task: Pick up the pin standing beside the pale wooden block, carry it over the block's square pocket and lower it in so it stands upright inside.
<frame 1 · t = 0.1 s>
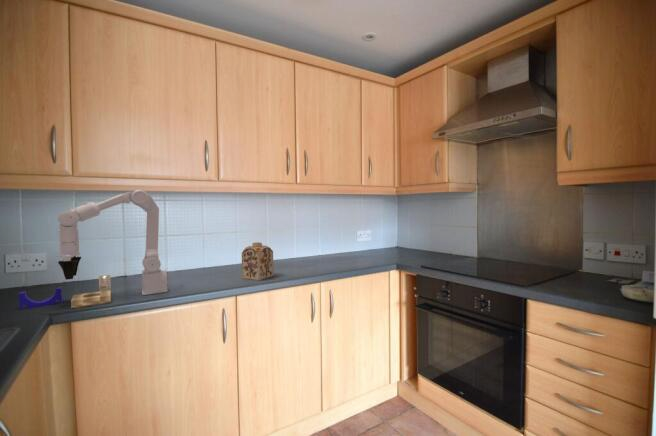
hand: (71, 277, 127), 10 cm above the worktop, tool pointing down, fingers open, 7 cm apart
pin: (105, 294, 139), on the worktop
blue curved cradle: (42, 305, 125), on the worktop
decorative jar: (258, 278, 168), on the worktop
pocket block: (92, 302, 127), on the worktop
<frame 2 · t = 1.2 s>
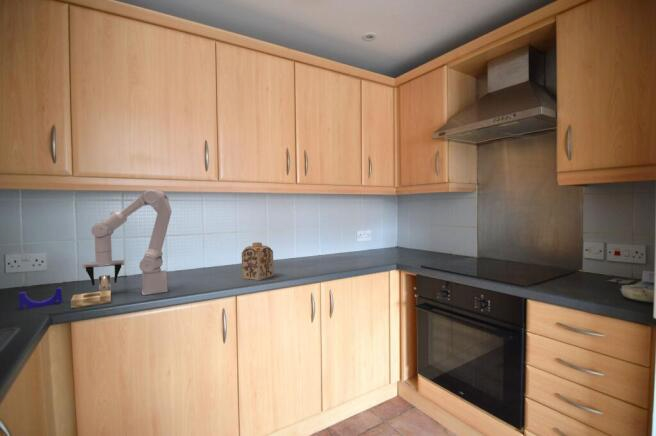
hand: (104, 283, 139), 5 cm above the worktop, tool pointing down, fingers open, 7 cm apart
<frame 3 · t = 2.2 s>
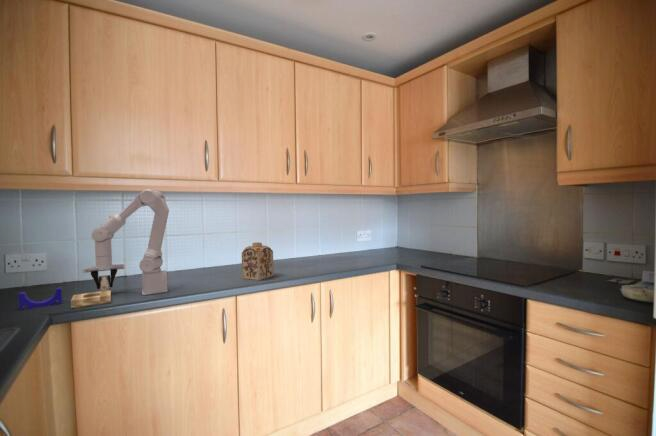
hand: (104, 287, 139), 3 cm above the worktop, tool pointing down, fingers closed on pin, 4 cm apart
pin: (105, 294, 139), on the worktop, touching gripper
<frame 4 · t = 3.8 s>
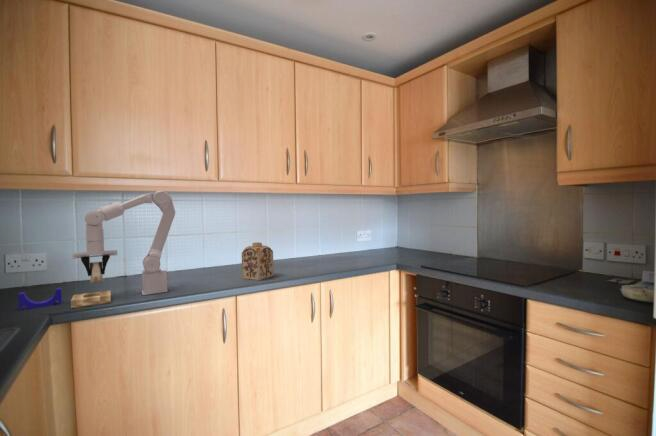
hand: (96, 274, 131), 10 cm above the worktop, tool pointing down, fingers closed on pin, 4 cm apart
pin: (96, 282, 132), point 7 cm above the worktop, touching gripper
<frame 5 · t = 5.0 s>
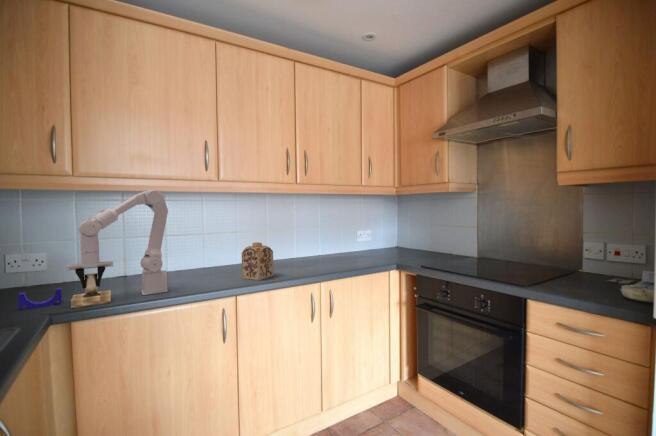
hand: (91, 287, 127), 6 cm above the worktop, tool pointing down, fingers closed on pin, 4 cm apart
pin: (91, 294, 127), point 3 cm above the worktop, touching gripper
when the fingers open (5 cm above the worktop, at t = 5.8 s): pin drops 1 cm, resting on pocket block.
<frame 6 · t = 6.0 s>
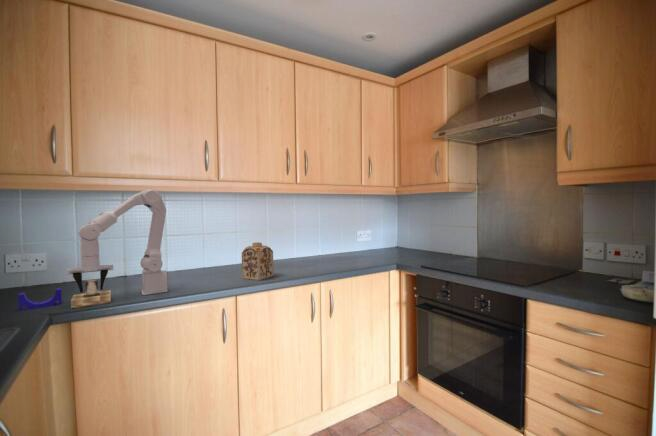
hand: (91, 290, 127), 5 cm above the worktop, tool pointing down, fingers open, 6 cm apart
pin: (92, 301, 127), point 1 cm above the worktop, touching pocket block
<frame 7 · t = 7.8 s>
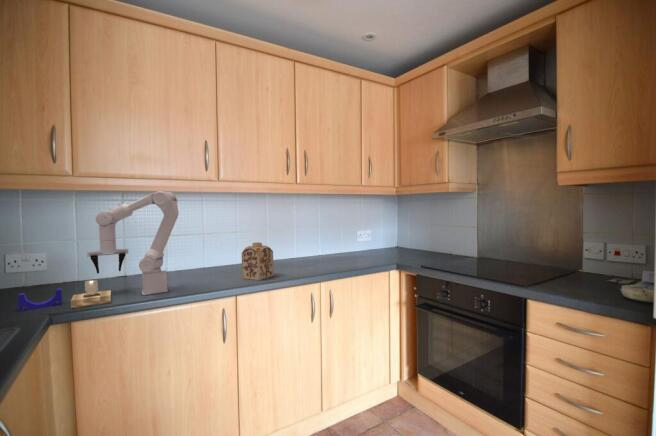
hand: (109, 271, 140), 9 cm above the worktop, tool pointing down, fingers open, 7 cm apart
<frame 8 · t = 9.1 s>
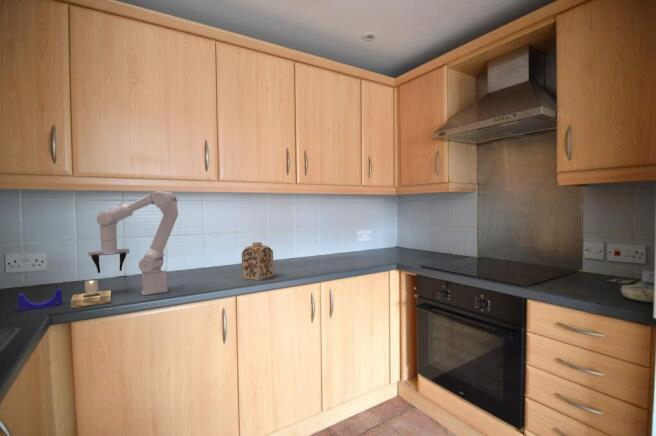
hand: (110, 271, 141), 9 cm above the worktop, tool pointing down, fingers open, 7 cm apart
at the end: pin 0.2 cm from the pocket block (horizontally); pin point 0.5 cm above the worktop; pin tilted 1° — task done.
